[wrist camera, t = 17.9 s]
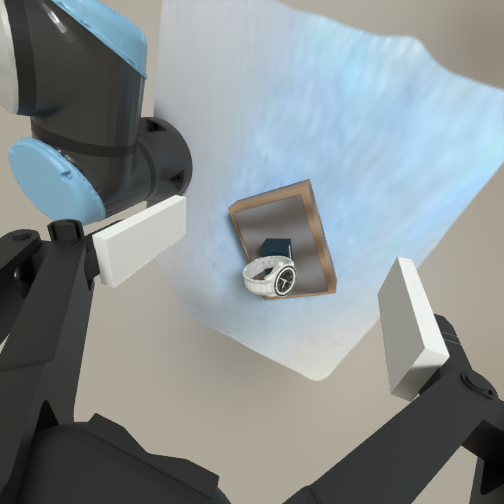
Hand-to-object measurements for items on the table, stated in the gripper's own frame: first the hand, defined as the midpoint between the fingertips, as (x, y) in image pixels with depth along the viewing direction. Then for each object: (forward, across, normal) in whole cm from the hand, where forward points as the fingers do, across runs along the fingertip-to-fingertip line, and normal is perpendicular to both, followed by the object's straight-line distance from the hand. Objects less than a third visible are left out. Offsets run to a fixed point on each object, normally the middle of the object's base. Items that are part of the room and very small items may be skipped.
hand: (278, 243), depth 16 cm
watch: (+26, -3, -15) cm, 30 cm away
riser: (+31, -3, -15) cm, 34 cm away
